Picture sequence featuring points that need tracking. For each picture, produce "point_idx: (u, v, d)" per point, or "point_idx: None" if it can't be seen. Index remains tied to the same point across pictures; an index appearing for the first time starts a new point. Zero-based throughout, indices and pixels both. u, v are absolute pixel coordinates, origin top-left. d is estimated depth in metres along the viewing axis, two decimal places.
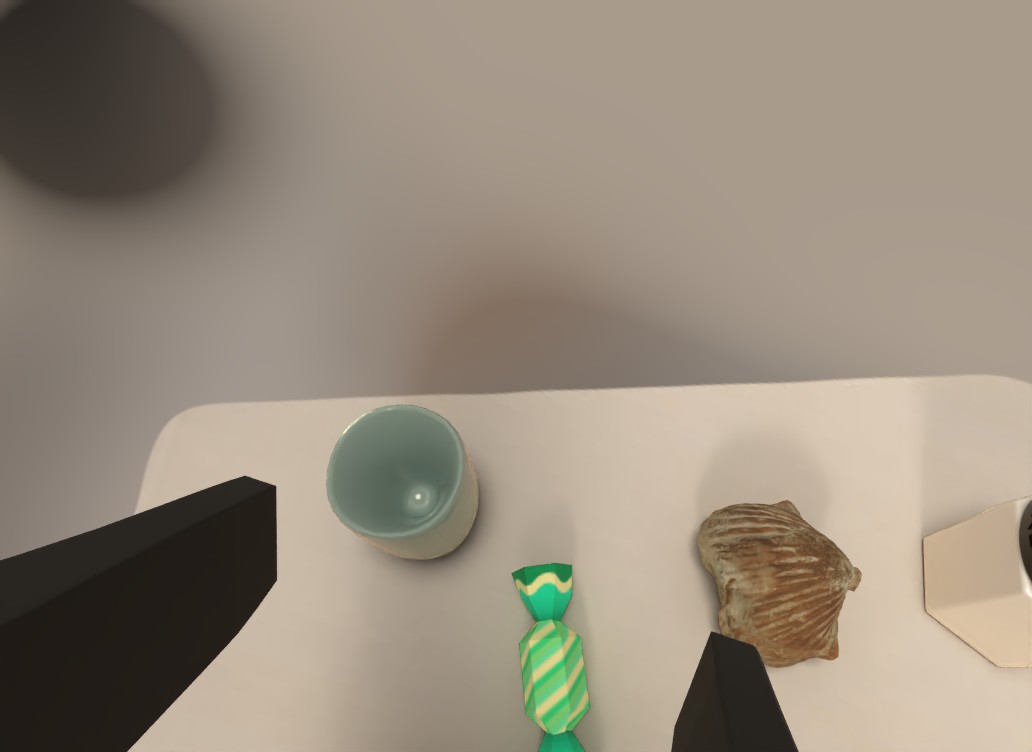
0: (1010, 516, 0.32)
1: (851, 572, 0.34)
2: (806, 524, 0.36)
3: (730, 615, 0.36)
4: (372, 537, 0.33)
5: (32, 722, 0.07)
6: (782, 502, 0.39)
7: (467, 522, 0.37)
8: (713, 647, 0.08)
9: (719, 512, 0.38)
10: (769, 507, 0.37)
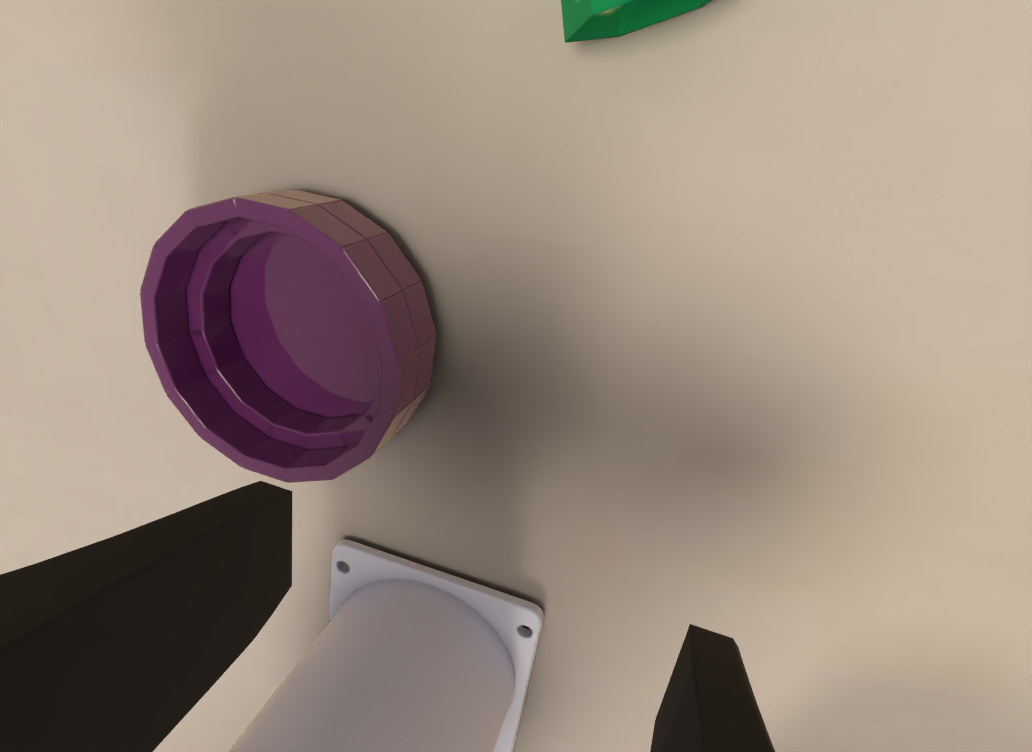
0: None
1: None
2: None
3: None
4: None
5: (53, 732, 0.07)
6: None
7: None
8: (691, 640, 0.08)
9: None
10: None
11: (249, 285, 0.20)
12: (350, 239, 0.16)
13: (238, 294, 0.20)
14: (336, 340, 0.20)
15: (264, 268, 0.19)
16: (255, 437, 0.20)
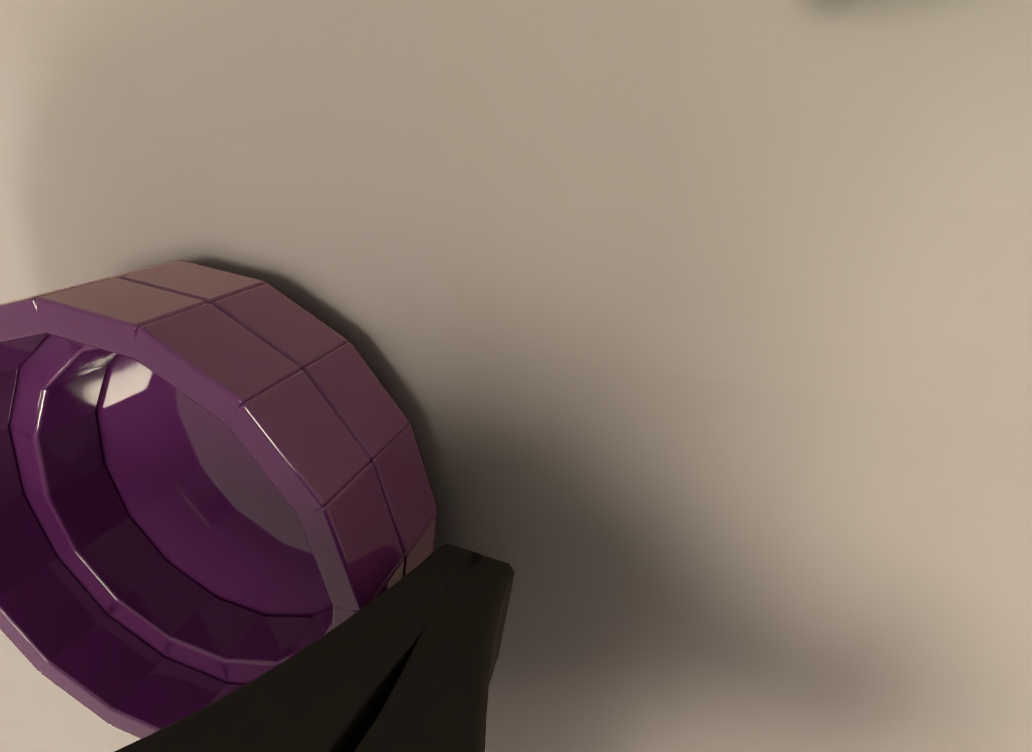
0: None
1: None
2: None
3: None
4: None
5: None
6: None
7: None
8: (463, 562, 0.09)
9: None
10: None
11: (126, 411, 0.12)
12: (265, 376, 0.08)
13: (111, 423, 0.12)
14: (270, 504, 0.12)
15: (147, 386, 0.12)
16: (139, 662, 0.12)
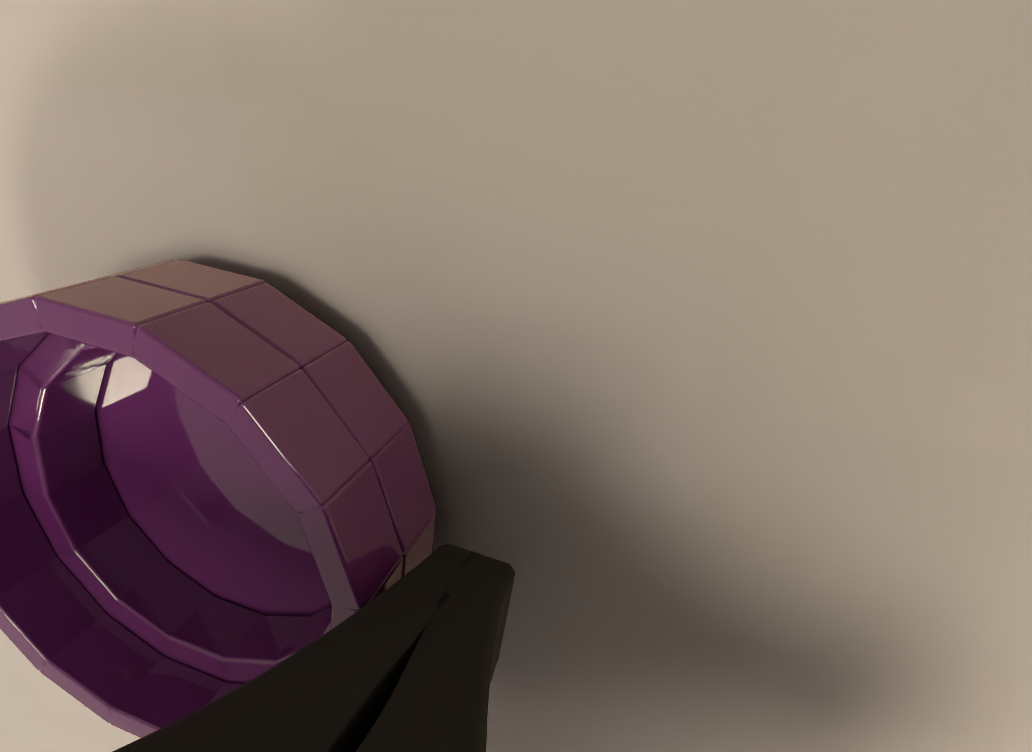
0: None
1: None
2: None
3: None
4: None
5: None
6: None
7: None
8: (464, 563, 0.09)
9: None
10: None
11: (126, 410, 0.12)
12: (265, 374, 0.08)
13: (110, 422, 0.12)
14: (269, 504, 0.12)
15: (146, 385, 0.12)
16: (138, 661, 0.12)
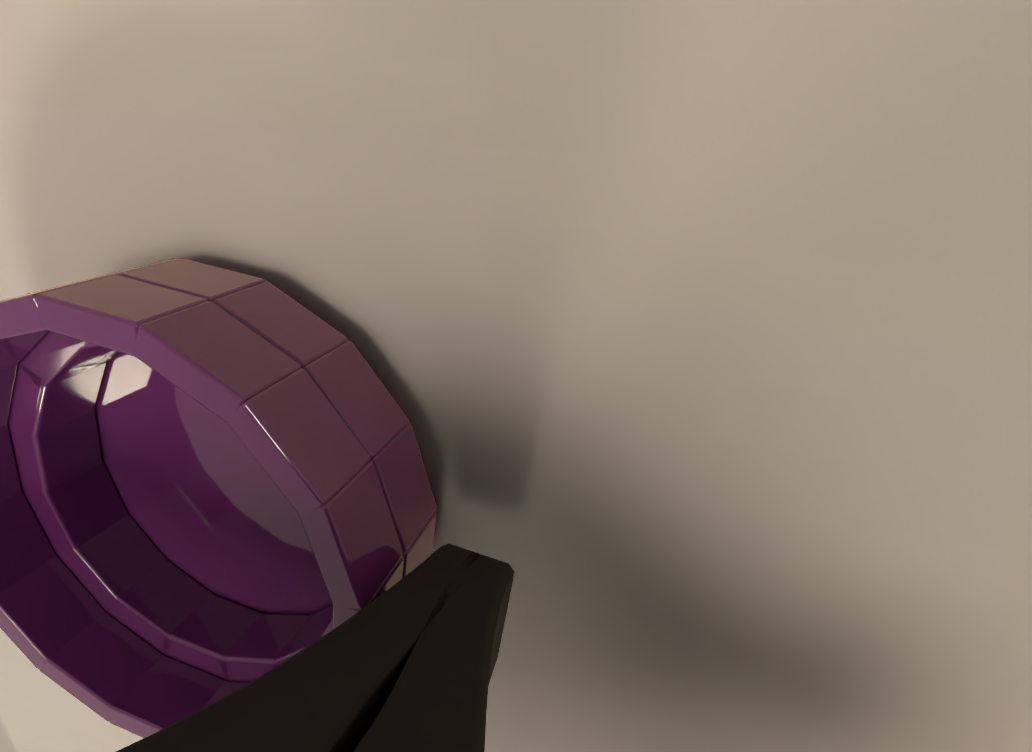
0: None
1: None
2: None
3: None
4: None
5: None
6: None
7: None
8: (463, 562, 0.09)
9: None
10: None
11: (126, 408, 0.12)
12: (267, 374, 0.08)
13: (110, 421, 0.12)
14: (270, 503, 0.12)
15: (146, 383, 0.11)
16: (138, 660, 0.12)
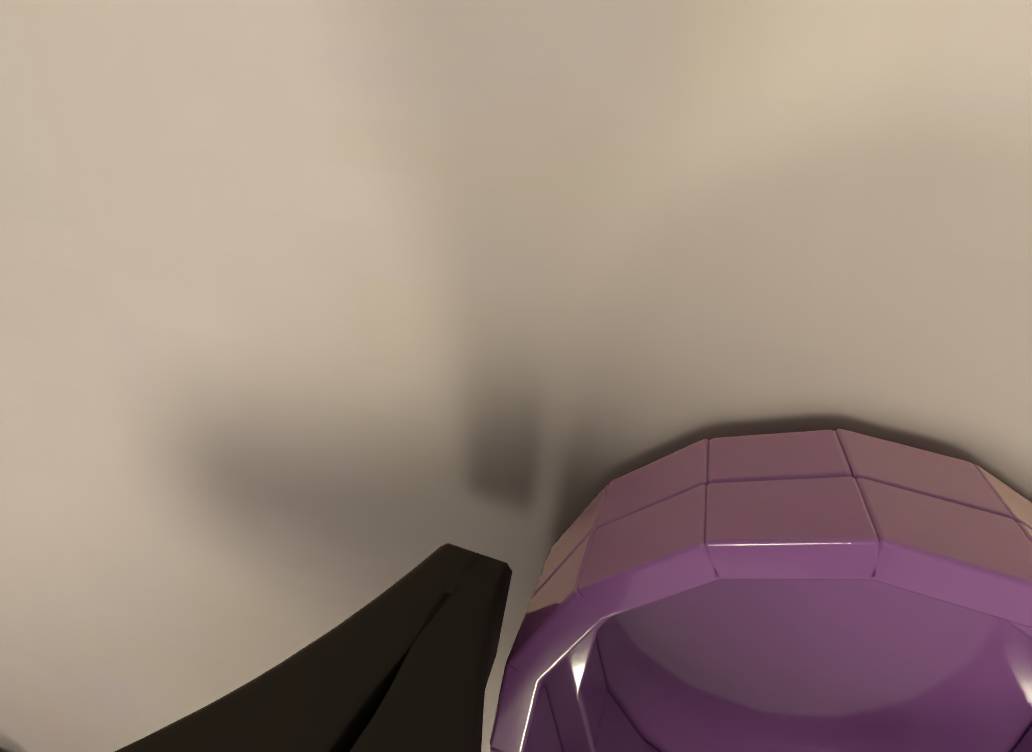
0: None
1: None
2: None
3: None
4: None
5: None
6: None
7: None
8: (461, 562, 0.09)
9: None
10: None
11: None
12: None
13: None
14: None
15: None
16: None
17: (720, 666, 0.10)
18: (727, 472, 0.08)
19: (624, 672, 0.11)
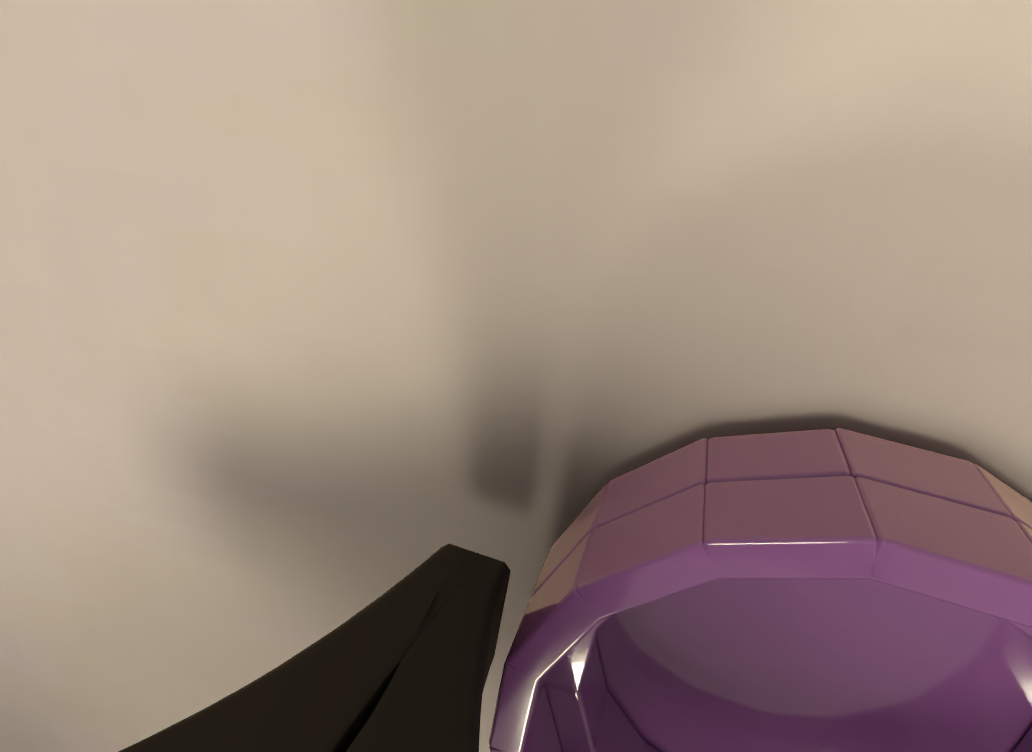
0: None
1: None
2: None
3: None
4: None
5: None
6: None
7: None
8: (459, 561, 0.09)
9: None
10: None
11: None
12: None
13: None
14: None
15: None
16: None
17: (720, 667, 0.10)
18: (725, 471, 0.08)
19: (623, 671, 0.11)
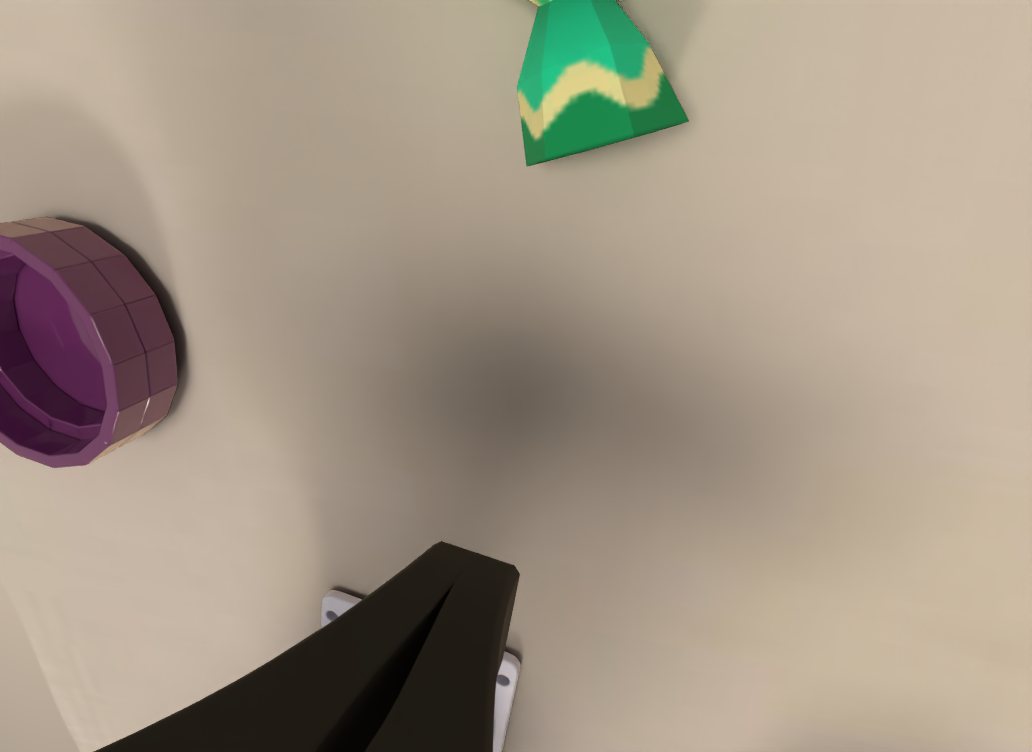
0: None
1: None
2: None
3: None
4: None
5: None
6: None
7: None
8: (468, 564, 0.09)
9: None
10: None
11: (28, 298, 0.23)
12: (69, 262, 0.19)
13: (21, 305, 0.23)
14: None
15: (37, 283, 0.22)
16: (34, 429, 0.23)
17: None
18: None
19: None
